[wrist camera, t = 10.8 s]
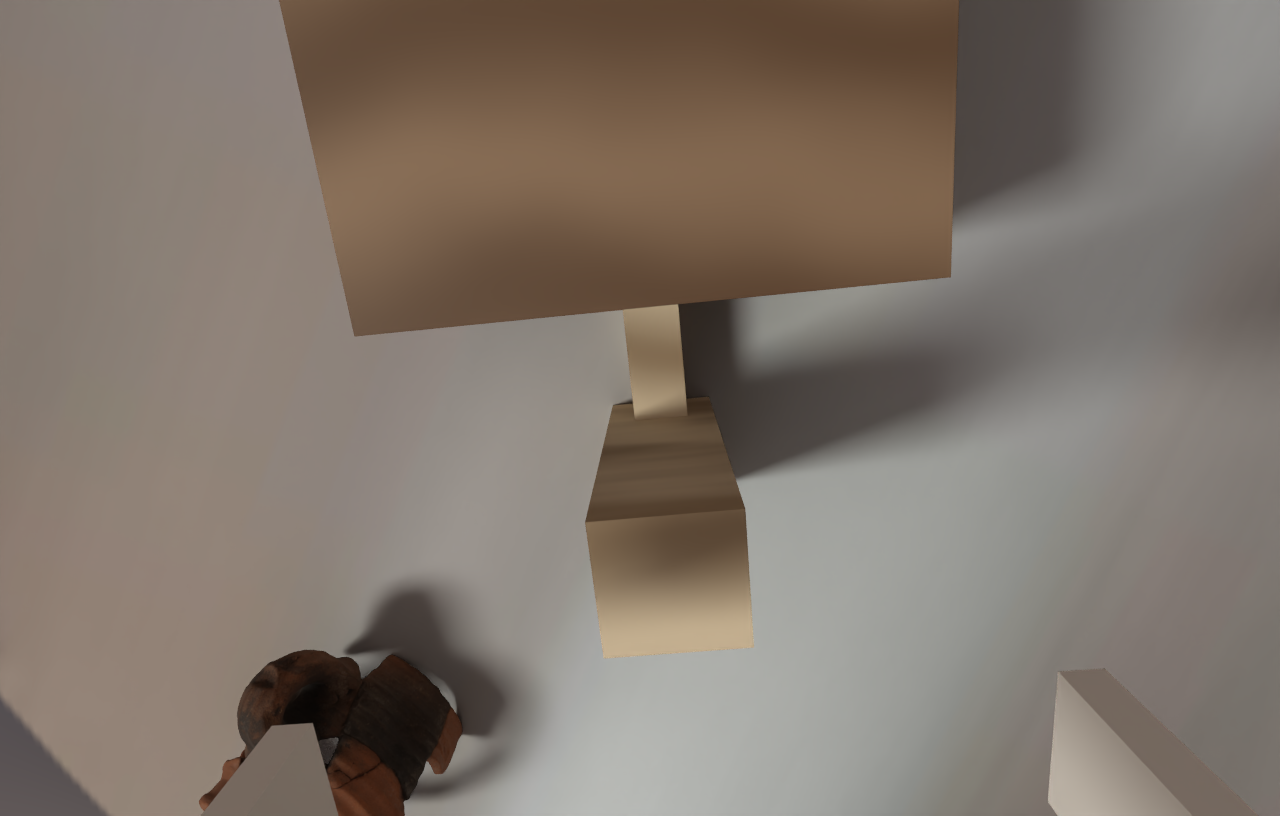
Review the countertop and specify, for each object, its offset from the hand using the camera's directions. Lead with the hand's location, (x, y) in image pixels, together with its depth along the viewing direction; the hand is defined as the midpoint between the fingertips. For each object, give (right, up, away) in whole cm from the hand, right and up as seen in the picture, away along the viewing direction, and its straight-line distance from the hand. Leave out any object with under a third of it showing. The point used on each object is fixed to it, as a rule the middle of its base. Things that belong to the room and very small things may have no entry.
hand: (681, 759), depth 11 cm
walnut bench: (-1, +17, +12) cm, 21 cm away
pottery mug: (-15, -8, +20) cm, 26 cm away
